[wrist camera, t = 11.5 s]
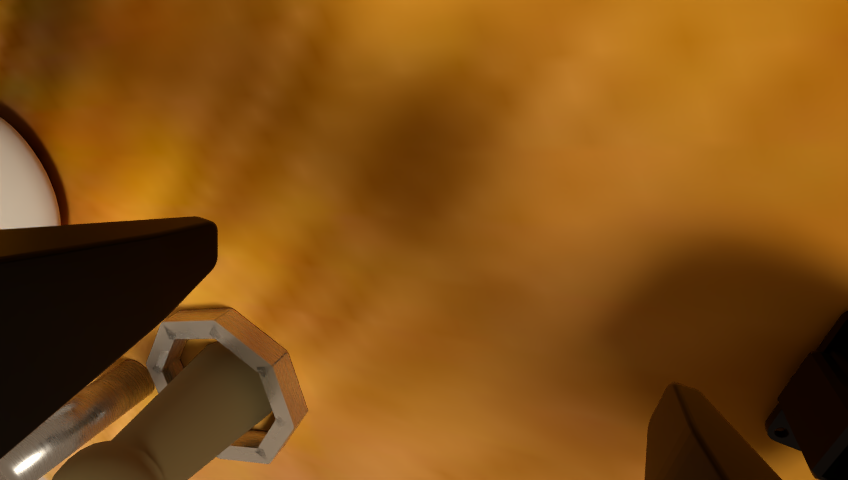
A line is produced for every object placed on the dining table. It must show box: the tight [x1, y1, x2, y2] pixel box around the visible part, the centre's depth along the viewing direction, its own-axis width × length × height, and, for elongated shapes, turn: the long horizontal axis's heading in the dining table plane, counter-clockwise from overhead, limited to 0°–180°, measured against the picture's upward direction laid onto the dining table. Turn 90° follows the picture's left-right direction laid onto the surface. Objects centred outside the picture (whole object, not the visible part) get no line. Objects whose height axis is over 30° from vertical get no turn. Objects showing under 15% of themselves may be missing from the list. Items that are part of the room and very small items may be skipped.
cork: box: [52, 342, 272, 480], centre depth 27 cm, size 6×6×11 cm
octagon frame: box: [0, 308, 308, 480], centre depth 29 cm, size 16×10×9 cm, turn 103°
